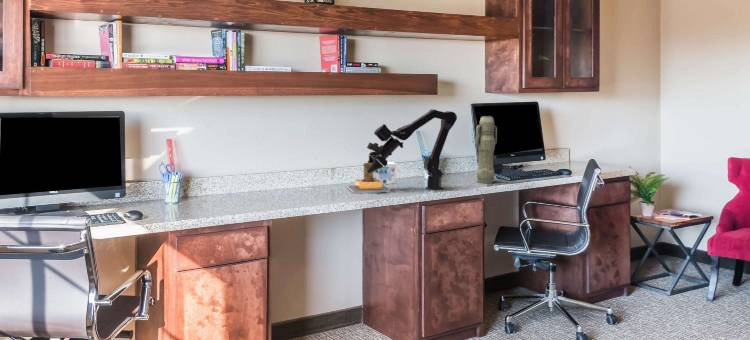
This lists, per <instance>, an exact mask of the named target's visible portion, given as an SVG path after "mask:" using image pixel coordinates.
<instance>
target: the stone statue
mask: <svg viewBox="0 0 750 340" xmlns="http://www.w3.org/2000/svg"><path fill="white" fill-rule="evenodd" d="M497 140H498V128H497V125H495V120H494V117H493V116H491V115H484V116H480V120H479V124H478V125H477V126H476V129H475V145H477V151H478V156H477V157H478V160H477V161H478V163H477V165H478V167H477V169H476V178H477V179H476V183H477V184H483V185H484V184H486V185H488V184H491V185H492V184H494V182H495V181H494V179H495V167H494V153H495V152H494V151H495V147H496V144H498V141H497Z"/></svg>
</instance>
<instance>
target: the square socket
mask: <svg viewBox="0 0 750 340" xmlns="http://www.w3.org/2000/svg"><path fill="white" fill-rule="evenodd" d="M354 182H355V183H354V184H351V185H347V186H346V188H347V189H348V190H349V191H350V192H351V193H352V194H380V192H389V193H392V192H391V189H390V188H389V187H387V186H385V184H382V182H381V181H380V180H378V179H373V181H367V182H364V178H363V179H362V178H357V179H356V178H355V181H354Z"/></svg>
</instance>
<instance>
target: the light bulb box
mask: <svg viewBox="0 0 750 340" xmlns="http://www.w3.org/2000/svg"><path fill="white" fill-rule="evenodd" d="M396 165H397V164H396V162H392V161H391V162H390V161H388V164H387V165H386V166H385V167H384V166H383V167H382V168H380V169H377V170H375V171H373V179H378V180H380V181H381V182H382V185H387V184H395V183H396Z"/></svg>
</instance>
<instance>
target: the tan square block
mask: <svg viewBox="0 0 750 340" xmlns="http://www.w3.org/2000/svg"><path fill="white" fill-rule="evenodd" d="M372 164H373V163H367V162H364V163H363V179H364V182H367V181H373V172H370V173H368V172H367V171H368V170H369V168H370V167H371V165H372Z"/></svg>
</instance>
